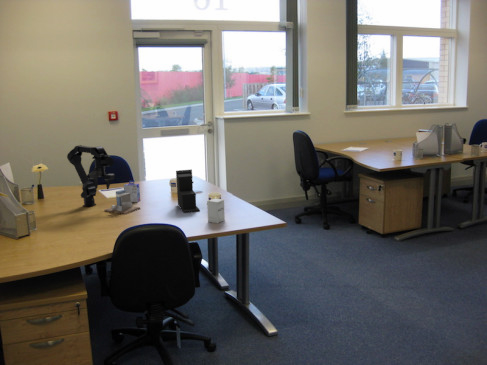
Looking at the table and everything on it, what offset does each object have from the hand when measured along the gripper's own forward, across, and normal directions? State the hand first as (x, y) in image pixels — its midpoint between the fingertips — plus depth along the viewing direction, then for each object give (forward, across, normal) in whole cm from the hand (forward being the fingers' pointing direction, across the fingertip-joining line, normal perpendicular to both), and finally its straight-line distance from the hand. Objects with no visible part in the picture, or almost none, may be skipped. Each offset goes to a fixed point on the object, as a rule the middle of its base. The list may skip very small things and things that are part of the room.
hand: (102, 188), depth 308 cm
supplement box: (+14, +87, -6) cm, 88 cm away
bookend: (+14, +56, +16) cm, 59 cm away
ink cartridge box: (+13, +8, +21) cm, 26 cm away
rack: (+13, +16, -1) cm, 21 cm away
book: (+12, +16, -1) cm, 20 cm away
